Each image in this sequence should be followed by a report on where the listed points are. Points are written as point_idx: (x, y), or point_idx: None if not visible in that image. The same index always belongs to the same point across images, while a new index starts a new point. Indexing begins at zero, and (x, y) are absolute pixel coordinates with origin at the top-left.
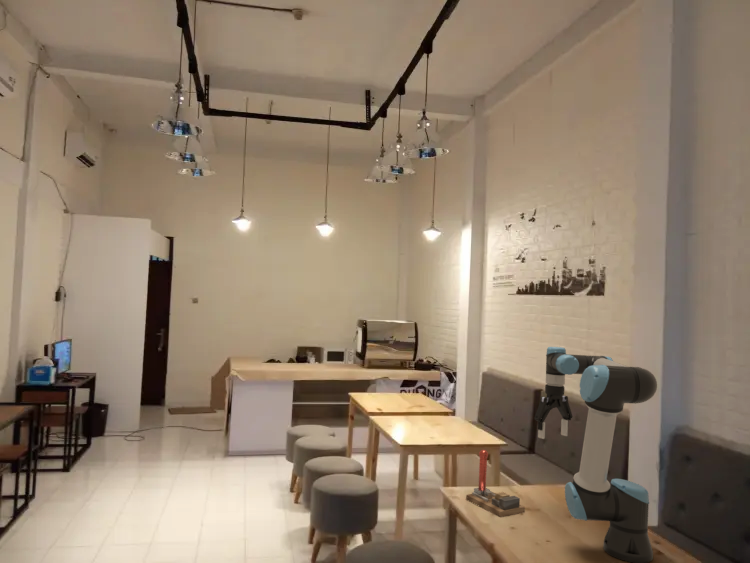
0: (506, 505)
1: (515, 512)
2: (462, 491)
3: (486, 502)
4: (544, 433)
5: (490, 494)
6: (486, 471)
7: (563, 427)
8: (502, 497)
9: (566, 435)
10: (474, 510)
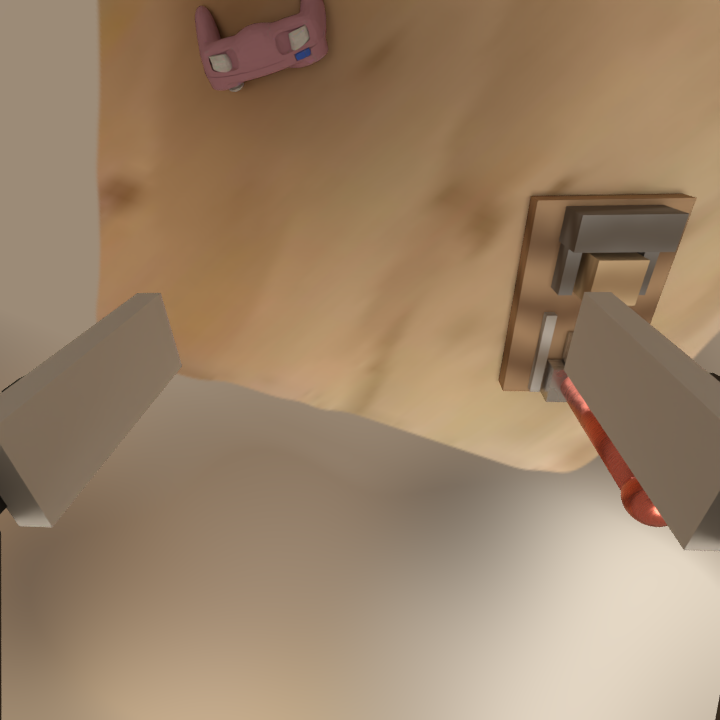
0: (664, 208)
1: (591, 196)
2: (552, 438)
3: (636, 306)
4: (623, 325)
5: None
6: (600, 425)
7: (118, 393)
8: (644, 258)
9: (149, 297)
10: (696, 294)
